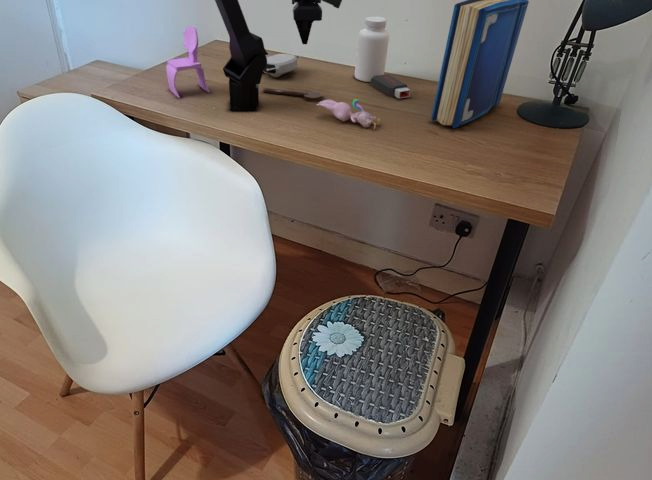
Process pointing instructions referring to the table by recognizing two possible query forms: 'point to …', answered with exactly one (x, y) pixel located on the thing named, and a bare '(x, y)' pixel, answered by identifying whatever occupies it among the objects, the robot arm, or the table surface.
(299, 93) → the spoon
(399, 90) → the usb drive
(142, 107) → the table surface
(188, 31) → the toy chair
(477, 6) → the book
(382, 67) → the pill bottle
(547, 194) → the table surface
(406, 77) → the table surface
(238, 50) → the robot arm
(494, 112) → the table surface
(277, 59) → the robot toy
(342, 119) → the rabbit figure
